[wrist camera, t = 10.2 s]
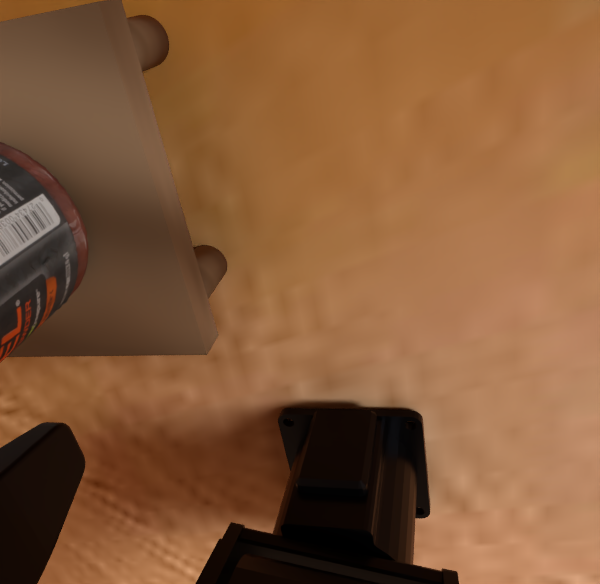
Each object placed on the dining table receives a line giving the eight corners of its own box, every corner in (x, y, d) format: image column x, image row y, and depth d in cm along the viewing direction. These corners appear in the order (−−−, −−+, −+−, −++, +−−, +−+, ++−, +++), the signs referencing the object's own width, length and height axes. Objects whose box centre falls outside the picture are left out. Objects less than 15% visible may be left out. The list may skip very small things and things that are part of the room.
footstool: (245, 289, 23) (207, 354, 19) (23, 298, 26) (-47, 357, 22) (170, -10, 18) (98, 1, 14) (-97, 45, 21) (-215, 66, 17)
